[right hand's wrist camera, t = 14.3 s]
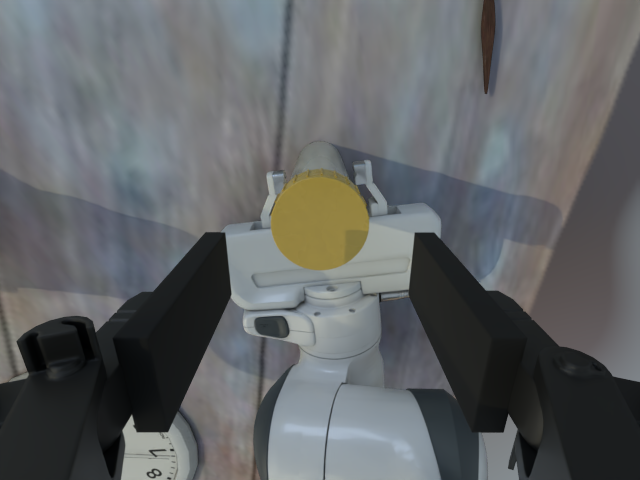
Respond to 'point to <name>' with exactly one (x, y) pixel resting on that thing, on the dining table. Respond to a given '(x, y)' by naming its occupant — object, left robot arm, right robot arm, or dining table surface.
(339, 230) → the lid
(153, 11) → the dining table surface
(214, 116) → the dining table surface
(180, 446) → the wall clock
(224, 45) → the dining table surface
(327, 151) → the bottle
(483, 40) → the fork
